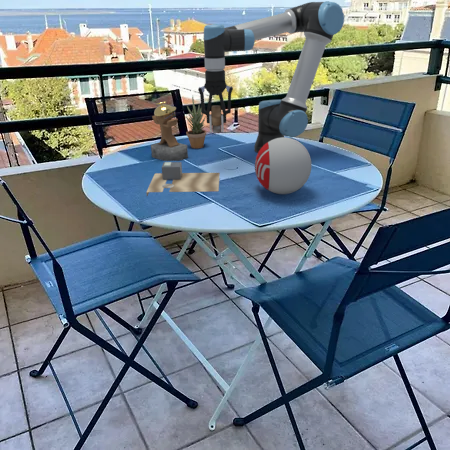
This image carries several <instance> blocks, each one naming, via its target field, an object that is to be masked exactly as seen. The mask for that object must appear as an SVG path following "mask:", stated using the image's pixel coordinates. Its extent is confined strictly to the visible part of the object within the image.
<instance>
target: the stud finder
mask: <svg viewBox="0 0 450 450" xmlns="http://www.w3.org/2000/svg"><path fill="white" fill-rule="evenodd" d="M182 164H183V163H182V161H164V162H162V166H161V173H162V177H163V180H167V181H168V180H172V181H173V180H176V179H181V177H182V173H183V165H182Z"/></svg>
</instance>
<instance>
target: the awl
mask: <svg viewBox="0 0 450 450" xmlns="http://www.w3.org/2000/svg"><path fill="white" fill-rule="evenodd" d="M210 114H211V120H212V133H213V134H220V133H222V126H221V114H222V107H221V105H211V108H210Z"/></svg>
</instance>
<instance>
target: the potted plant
mask: <svg viewBox="0 0 450 450" xmlns="http://www.w3.org/2000/svg"><path fill="white" fill-rule="evenodd" d="M191 100H192V109H190V107H189V106H188V105H186V107H187V110H188V112H189V113H188V117H189V118H188V117H187V116H185V119H186V120H187V121H188V122H189V123H188V125H189V128H190V130H188V131H186V137H187V138H188V141H189V145H190V147H191V148H192V149H201V148H204V144H205V139H206V136H207V131H206V130H204V128H205V123H204V122H205V120H206V118H207V117H206V115H205V116H204V114H202V111H201V104H198V107H197V106H195V100H194V96H191ZM191 110H192V111H191ZM203 116H204V118H203Z"/></svg>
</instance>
